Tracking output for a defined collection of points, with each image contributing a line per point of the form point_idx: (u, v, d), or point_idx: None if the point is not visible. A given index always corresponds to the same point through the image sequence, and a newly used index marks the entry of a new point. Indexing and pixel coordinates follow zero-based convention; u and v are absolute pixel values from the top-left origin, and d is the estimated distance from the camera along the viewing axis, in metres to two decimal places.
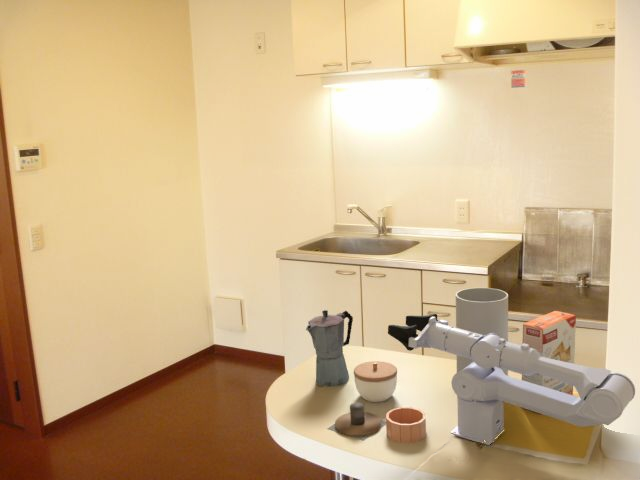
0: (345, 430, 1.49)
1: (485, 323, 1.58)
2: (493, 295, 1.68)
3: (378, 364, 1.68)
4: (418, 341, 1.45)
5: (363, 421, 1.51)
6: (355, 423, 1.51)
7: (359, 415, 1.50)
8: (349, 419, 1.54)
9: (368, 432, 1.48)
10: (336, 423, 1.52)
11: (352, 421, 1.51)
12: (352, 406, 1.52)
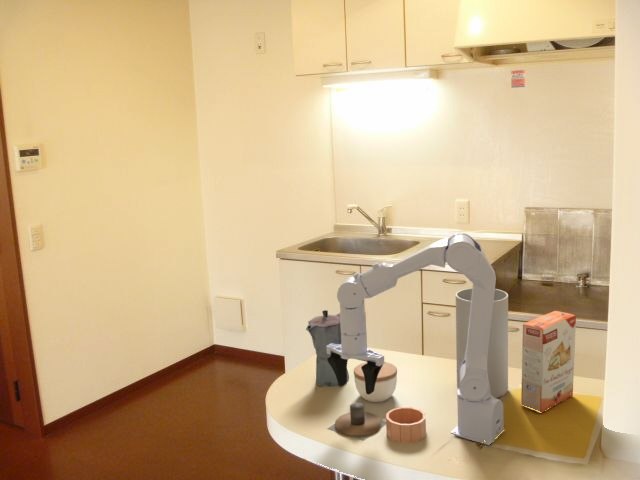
0: (345, 430, 1.49)
1: None
2: None
3: None
4: (376, 356, 1.45)
5: (363, 421, 1.51)
6: (355, 423, 1.51)
7: (359, 415, 1.50)
8: (349, 419, 1.54)
9: (368, 432, 1.48)
10: (336, 423, 1.52)
11: (352, 421, 1.51)
12: (352, 406, 1.52)
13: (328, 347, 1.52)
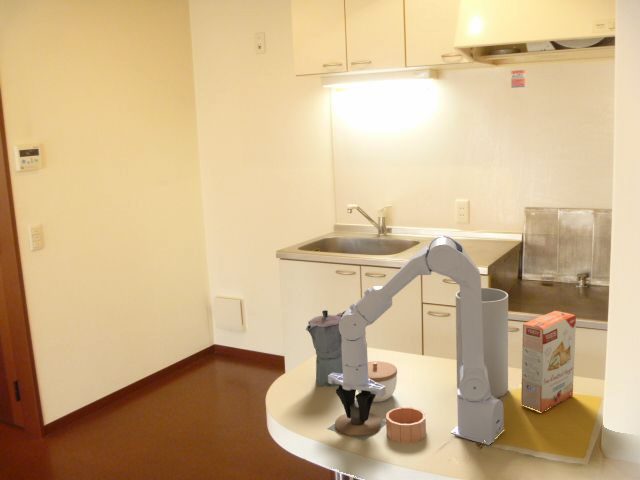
0: (345, 430, 1.49)
1: (485, 323, 1.58)
2: (493, 295, 1.68)
3: (378, 364, 1.68)
4: (377, 387, 1.47)
5: None
6: (355, 423, 1.51)
7: (359, 415, 1.50)
8: (349, 419, 1.54)
9: (368, 432, 1.48)
10: (336, 423, 1.52)
11: (352, 421, 1.51)
12: (352, 405, 1.52)
13: (330, 377, 1.54)
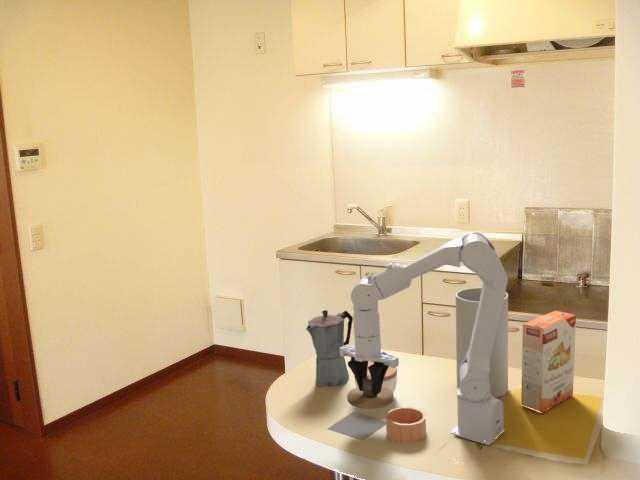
0: (357, 402, 1.46)
1: None
2: None
3: None
4: (390, 358, 1.44)
5: None
6: (367, 396, 1.48)
7: (371, 387, 1.48)
8: (361, 392, 1.51)
9: (381, 404, 1.45)
10: (348, 396, 1.50)
11: (364, 394, 1.49)
12: (364, 378, 1.49)
13: (341, 349, 1.51)
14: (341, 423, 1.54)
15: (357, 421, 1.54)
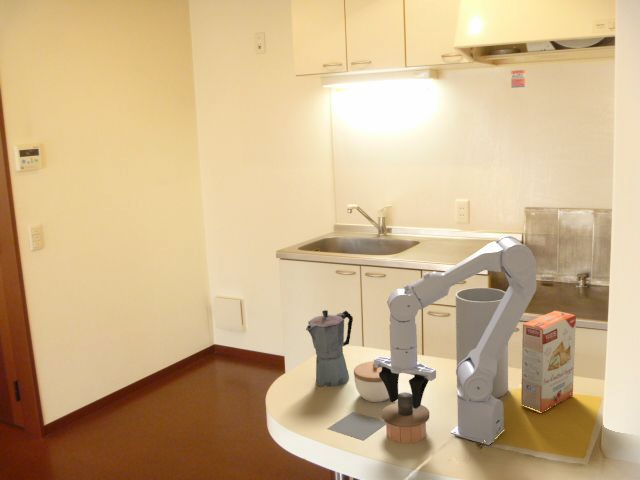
0: (393, 420, 1.44)
1: (485, 323, 1.58)
2: (493, 295, 1.68)
3: None
4: (427, 371, 1.41)
5: (411, 411, 1.46)
6: (403, 413, 1.46)
7: (407, 405, 1.45)
8: (396, 409, 1.49)
9: (417, 422, 1.42)
10: (383, 413, 1.47)
11: (400, 411, 1.46)
12: (400, 395, 1.46)
13: (376, 360, 1.48)
14: (341, 423, 1.54)
15: (357, 421, 1.54)
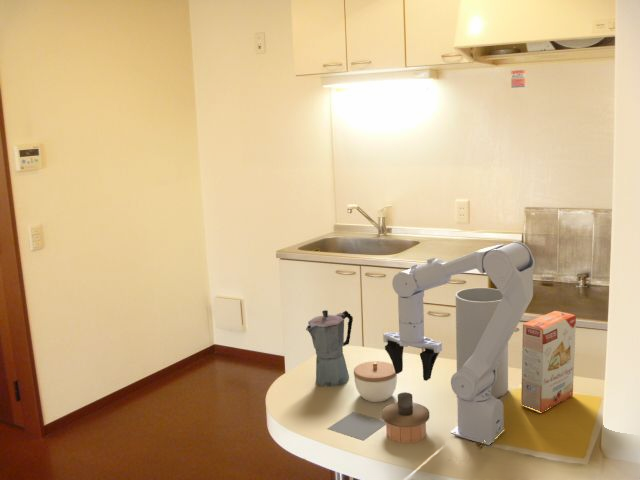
0: (393, 420, 1.44)
1: (485, 323, 1.58)
2: (493, 295, 1.68)
3: (378, 364, 1.68)
4: (433, 344, 1.51)
5: (411, 411, 1.46)
6: (403, 413, 1.46)
7: (407, 405, 1.45)
8: (396, 409, 1.49)
9: (417, 422, 1.42)
10: (383, 413, 1.47)
11: (400, 411, 1.46)
12: (400, 395, 1.46)
13: (385, 335, 1.58)
14: (341, 423, 1.54)
15: (357, 421, 1.54)
